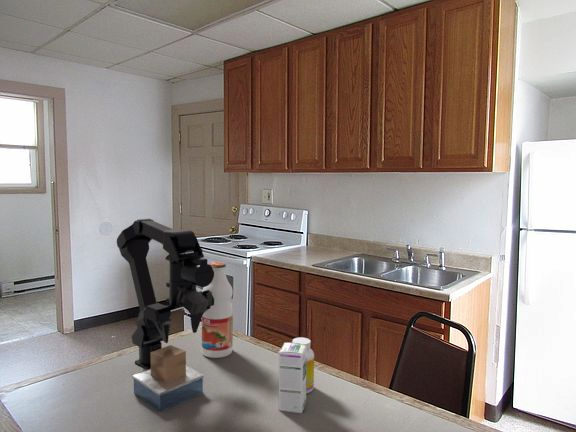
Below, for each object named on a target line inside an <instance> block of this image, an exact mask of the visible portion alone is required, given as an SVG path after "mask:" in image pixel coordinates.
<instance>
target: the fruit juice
mask: <svg viewBox="0 0 576 432" xmlns="http://www.w3.org/2000/svg"><path fill="white" fill-rule="evenodd" d="M209 265H210V266H211V267H212V268H213V271H214V278H213V280H212V282H211V283H210V284H209V285H208V286H206V287H202V292H203V291H206V290H210V291H211V292H212V296H213V297H214V305H213V306H210V307H211V308H210V309H208V310H207V311H206V312H204V314H203V316H202V318H201V352H202V355H203V356H205V357H207V358H209V359H210V358H211V359H218V358H219V359H221V358H225V357H228V356H230V355H231V354H232V352H233V345H234V344H233V343H234V342H233V338H234V334H233V332H234V329H233V328H234V308H233V303H232V296H233V287H232V285H231V283H230V282H229V280H228V278H227V275H226V274H227V273H226V268H227V267H226V266H227V264H226V261H225V262H224V261H211V262H210V263H209Z"/></svg>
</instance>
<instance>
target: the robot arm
mask: <svg viewBox="0 0 576 432" xmlns="http://www.w3.org/2000/svg"><path fill="white" fill-rule="evenodd" d="M152 240H153V241H156V242H157V243H160V244H161V245H162V249H163V250H164V251H165V252H166V253H168V255H166V256H165V260H166V261H169V266H168V267H169V279H168V280H169V281H168V282H166V283H165V285H166V287H167V288H168V291H169V297H166V299H165V300H166V301H165V303H167V304H166V305H165V304H161V303H159V302H158V301H157V298H156V294H155V290H154V287H153V281H152V277H151V272H150V269H149V265H148V261H147V256H148V253H149V250H150V243H151V241H152ZM200 245H201V244H200V243H199V240H198V238H197V236H196V234H195V232H194V231H193V230H189V229H173V228H172V227H169V226H166V225H164V224H161V223H159V222H156V221H155V220H154V219H152V218H141V219H137V220H134V221H133V223H132V224H131V225H129V226H128V227H126V228H124V229H123V230H122V231H121V232H120V234H119V235H118V236H117V238H116V246H117V248H118V250H119V253H120V255H121V257H122V258H123V259H124V260H125V261H126V262H128V264H129V265H128V266H129V270H130V273H131V277H132V281H133V286H134V290H135V294H136V299H137V304H138V307H139V308H138V309H139V313H138V317H137V320H136V329H135V330H134V332H133V333H132V334H131V340H132V341H131V342H132V344H133V345H134V346H137V347H138V359H137V360H135V361H134V364H136V365H138V366H141V367H142V368H145V369H146V370H149V369H151V352H153V351H156V350H159V349H161V348H163V347H162V342H164V343H165V344H168V343H169V336H170V335H169V334H170V331H171V325H170V322H171V321H172V318H170V317H171V315H172V313H173V312H176V311H179V310H183V309H185V310H186V311H188V313H189V315H190V317H189V319H190V325H191V326H190V327H191V330H192V333H194V334H196V333H197V332H198V329H199V326H200V323H201V322H202V316H203V314H204V312H206V311H207V310H208V309H210V308H211V307H210V306H213V305H214V297H213V296H212V292H211V291H210V290H206V291H203V292H202V291H198V290H197V287H200V288H203V287H206V286H208V285H209V284H210V283H211V282H212V280H213V278H214V271H213V268H212V267H211V266H210V263H208V258H206V257H205V255H204V253H203V249H202V247H201V246H200Z"/></svg>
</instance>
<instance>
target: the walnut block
mask: <svg viewBox="0 0 576 432" xmlns="http://www.w3.org/2000/svg"><path fill="white" fill-rule="evenodd" d="M186 366H187V351H186V350H185V349H181V348H179V347H176V346H174V345H171V344H169V345H167V346H164V347H162V348H161V349H159V350H156V351H153V352H151V368H150V369H151V376H152V377H154V378H156V379H159V380H161V381H163V382H165V383H168V382H170V381H172V380H174V379H176V378H179V377H181V376H183V375H185V374H186Z"/></svg>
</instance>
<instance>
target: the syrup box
mask: <svg viewBox="0 0 576 432" xmlns="http://www.w3.org/2000/svg"><path fill="white" fill-rule="evenodd" d="M306 372H307V345H305V344H300V343H292V342H283V345H282V346H281V348H280V349H279V351H278V410H279V411H281V412H287V413H296V414H303V411H304V409H305V407H306V403H307V394H306V376H307V374H306Z"/></svg>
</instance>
